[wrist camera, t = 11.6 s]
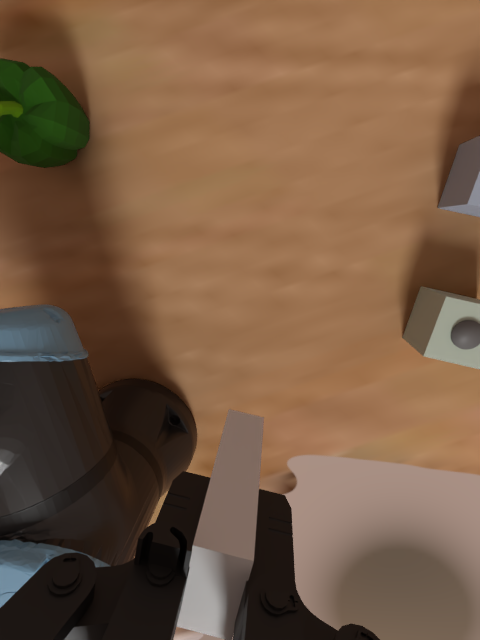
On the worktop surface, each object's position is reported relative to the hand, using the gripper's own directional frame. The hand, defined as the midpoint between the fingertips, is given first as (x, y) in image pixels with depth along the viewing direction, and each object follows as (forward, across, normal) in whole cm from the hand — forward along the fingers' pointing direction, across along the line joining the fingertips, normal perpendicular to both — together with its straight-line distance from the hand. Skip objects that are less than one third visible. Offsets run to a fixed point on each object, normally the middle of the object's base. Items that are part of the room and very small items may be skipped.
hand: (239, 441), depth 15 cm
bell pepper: (+27, +25, -14) cm, 39 cm away
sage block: (+27, -19, -3) cm, 33 cm away
